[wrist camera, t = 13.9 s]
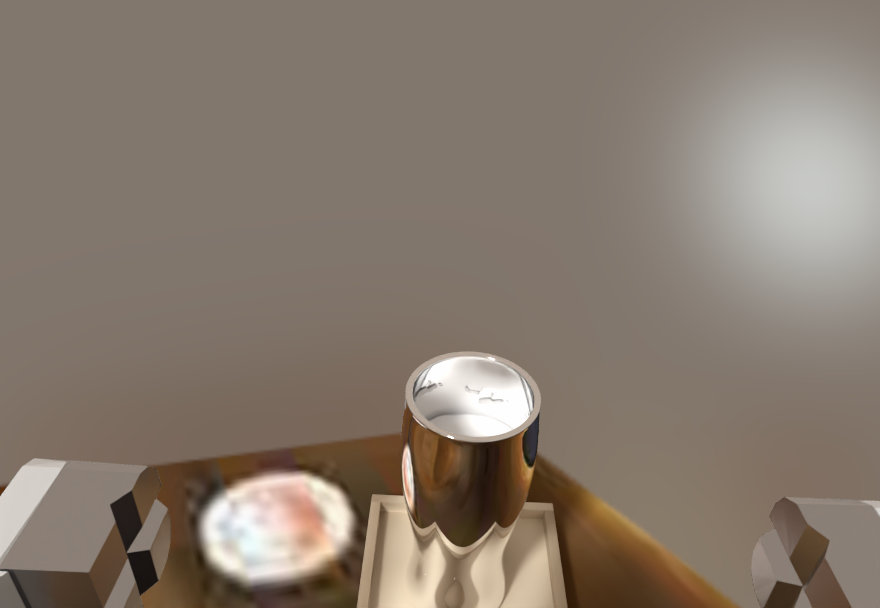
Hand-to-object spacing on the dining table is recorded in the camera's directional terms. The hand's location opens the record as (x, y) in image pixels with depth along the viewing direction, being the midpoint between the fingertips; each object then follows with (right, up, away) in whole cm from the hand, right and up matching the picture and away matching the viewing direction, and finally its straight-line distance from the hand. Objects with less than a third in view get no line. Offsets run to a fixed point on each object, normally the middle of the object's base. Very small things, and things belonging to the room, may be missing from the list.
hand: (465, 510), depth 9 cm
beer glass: (+1, -14, +32) cm, 35 cm away
